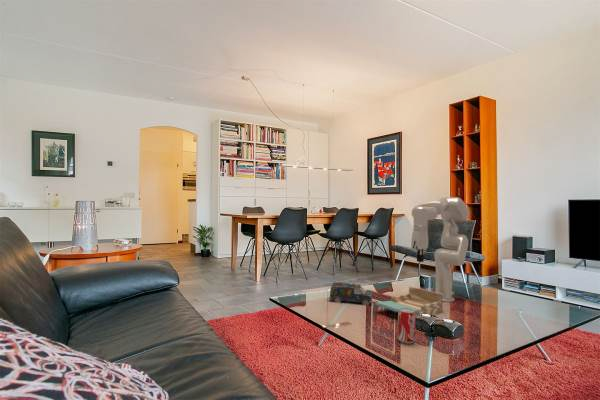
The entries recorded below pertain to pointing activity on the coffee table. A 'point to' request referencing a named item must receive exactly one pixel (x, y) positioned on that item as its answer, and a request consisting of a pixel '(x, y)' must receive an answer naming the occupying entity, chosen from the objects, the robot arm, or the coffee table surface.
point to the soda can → (406, 325)
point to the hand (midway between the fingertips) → (420, 261)
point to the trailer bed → (421, 300)
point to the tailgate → (394, 306)
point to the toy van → (350, 293)
